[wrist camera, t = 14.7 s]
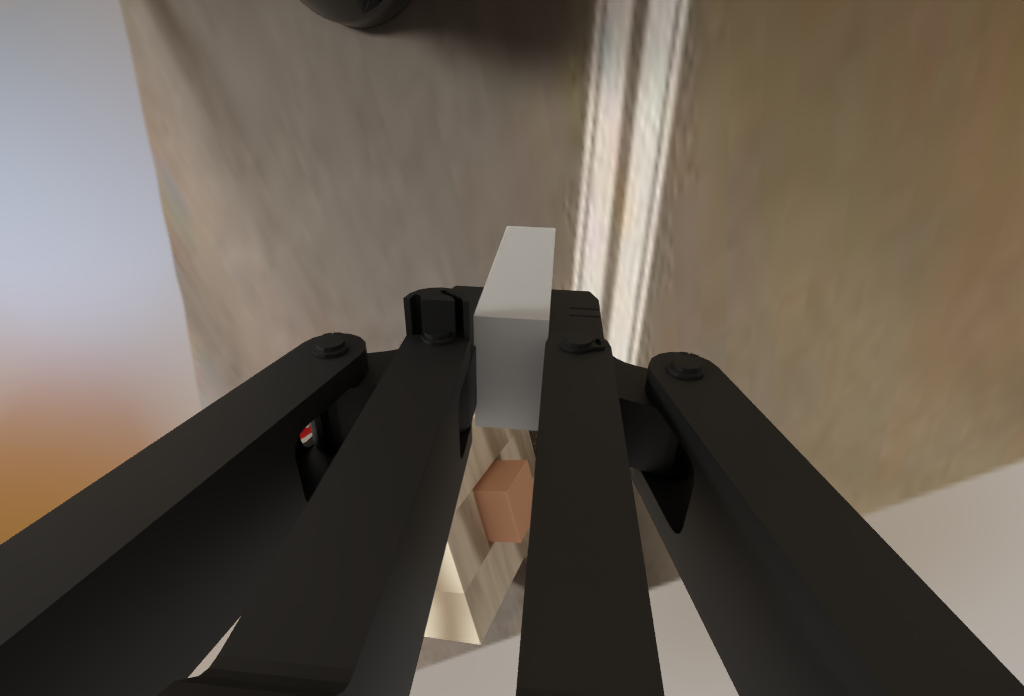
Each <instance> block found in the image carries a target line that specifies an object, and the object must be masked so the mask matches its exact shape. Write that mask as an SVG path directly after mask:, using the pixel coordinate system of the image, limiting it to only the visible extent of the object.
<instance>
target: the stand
mask: <svg viewBox="0 0 1024 696" xmlns="http://www.w3.org/2000/svg"><path fill="white" fill-rule="evenodd" d="M494 460H528V464H529V468H530V472H531V476H532V480H533V483H534V472H535V460H536V458H535V454H534V450H533V446H532V442H531V438H530V434H529V430H517V429H504V428H490V427H477V426H475V412H474V416H473V420H472V444H471V448H470V452H469V456H468V460H467V464H466V468H465V472H464V476H463V480H462V484H461V488H460V492H459V496H458V500H457V504H456V509H455V513H454V517H453V521H452V525H451V529H450V533H449V537H448V541H447V545H446V549H445V553H444V557H443V561H442V565H441V569H440V573H439V577H438V581H437V585H436V589H435V593H434V597H433V601H432V605H431V609H430V614H429V618H428V622H427V626H426V630H425V634H424V636H425V637H432V638H439V639H445V640H452V641H459V642H466V643H473V644H479V645H481V643H482V641H483V639H484V637H485V635H486V633H487V631H488V629H489V627H490V625H491V623H492V621H493V619H494V617H495V615H496V613H497V611H498V609H499V607H500V605H501V603H502V601H503V599H504V597H505V595H506V593H507V591H508V589H509V587H510V585H511V583H512V581H513V579H514V577H515V575H516V573H517V571H518V569H519V567H520V565H521V563H522V561H523V559H524V557H525V555H526V553H527V551H528V544H529V532H530V526H529V528H528V530H527V532H526V534H525V536H524V538H523V540H522V542H521V543H513V542H493V541H487V538H486V534H485V531H484V528H483V524H482V521H481V518H480V514H479V511H478V507H477V504H476V501H475V497H474V494H473V491H472V489H473V488H474V487H475V485H476V484H477V483H478V481H479V480H480V479H481V477H482V476H483V475H484V473H485V472H486V471H487V469H488V468H489V467H490V465H491V464H492V463H493V461H494Z"/></svg>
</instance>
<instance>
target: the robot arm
mask: <svg viewBox="0 0 1024 696" xmlns="http://www.w3.org/2000/svg"><path fill="white" fill-rule="evenodd" d="M300 1H301V2H302V3H303V4H304V5H305V6H307V7H308V8H309V9H310V10H312V11H313V12H315V13H316V14H318V15H320V16H321V17H323V18H325V19H328V20H330V21H333V22H336V23H339V24H342V25H345V26H348V27H353V28H368V27H373V26H377V25H380V24H382V23H384V22H386V21H388V20H390V19H391V18H393V17H394V16H395V15H397V14H398V13H399V12H400V11H401V10H402V9H403V8H404V7H405V6H406V5H407V4H408V3H409V1H410V0H300ZM554 243H555V228H540V227H518V226H507V227H506V230H505V233H504V235H503V238H502V241H501V243H500V246H499V249H498V252H497V254H496V257H495V260H494V262H493V265H492V268H491V270H490V273H489V276H488V278H487V281H486V284H485V286H484V287H470V286H455V287H453V288H452V289H450V288H427V289H421V290H417V291H415V292H412V293H409V294H408V295H407V296H406V297H404V298H403V299H404V310H405V321H406V333H407V336H406V337H405V339H404V341H403V342H402V344H401V346H400V347H399V349H397V350H391V351H385V352H375V353H367V350H366V343H365V341H364V340H363V339H362V338H361V337H358V336H355V335H352V334H344V333H340V332H339V333H333V334H332V333H327V334H324V335H322V336H318V337H314V338H312V339H310V340H308V341H306V342H304V343H302V344H301V345H299V346H298V347H296V348H295V349H293V350H292V351H290V352H289V353H287V354H286V355H284V356H283V357H281V358H280V359H278V360H277V361H275V362H274V363H272V364H271V365H269V366H268V367H266V368H265V369H263V370H262V371H260V372H259V373H257V374H256V375H254V376H253V377H251V378H250V379H248V380H247V381H245V382H244V383H242V384H241V385H239V386H238V387H236V388H235V389H233V390H232V391H230V392H229V393H227V394H226V395H224V396H223V397H221V398H220V399H218V400H217V401H215V402H214V403H212V404H211V405H209V406H208V407H206V408H205V409H203V410H202V411H200V412H199V413H197V414H196V415H194V416H193V417H191V418H190V419H188V420H187V421H186V422H184V423H182V424H181V425H179V426H178V427H176V428H175V429H173V430H172V431H170V432H169V433H167V434H166V435H165V436H163V437H161V438H160V439H158V440H157V441H155V442H154V443H153V444H151V445H149V446H148V447H146V448H145V449H143V450H142V451H140V452H139V453H137V454H136V455H134V456H133V457H131V458H130V459H128V460H127V461H125V462H124V463H122V464H121V465H119V466H118V467H116V468H115V469H113V470H112V471H111V472H109V473H108V474H106V475H105V476H103V477H101V478H100V479H98V480H97V481H96V482H94V483H92V484H91V485H89V486H88V487H87V488H85V489H84V490H82V491H80V492H79V493H77V494H76V495H74V496H73V497H71V498H70V499H69V500H67V501H66V502H64V503H63V504H61V505H60V506H58V507H57V508H55V509H54V510H52V511H51V512H49V513H48V514H46V515H45V516H43V517H42V518H40V519H39V520H37V521H36V522H34V523H33V524H31V525H30V526H28V527H27V528H25V529H24V530H22V531H21V532H19V533H18V534H16V535H15V536H13V537H12V538H10V539H9V540H7V541H6V542H4V543H3V544H1V545H0V696H409V694H410V690H411V686H412V682H413V678H414V674H415V670H416V666H417V662H418V658H419V654H420V650H421V646H422V642H423V638H424V634H425V630H426V626H427V622H428V618H429V614H430V609H431V605H432V601H433V597H434V593H435V589H436V585H437V581H438V577H439V573H440V569H441V565H442V561H443V557H444V553H445V549H446V545H447V541H448V537H449V533H450V529H451V525H452V521H453V517H454V513H455V509H456V504H457V500H458V496H459V492H460V488H461V484H462V480H463V476H464V472H465V468H466V464H467V460H468V456H469V452H470V448H471V444H472V420H473V416H474V412H475V426H477V427H490V428H504V429H517V430H531V431H538V436H537V448H536V460H535V472H534V484H533V496H532V508H531V520H530V532H529V544H528V557H527V569H526V581H525V593H524V605H523V617H522V629H521V641H520V653H519V665H518V677H517V690H516V696H664V690H663V683H662V677H661V670H660V663H659V658H658V651H657V644H656V637H655V631H654V625H653V618H652V611H651V605H650V598H649V592H648V585H647V578H646V572H645V565H644V559H643V552H642V546H641V539H640V533H639V526H638V520H637V513H636V507H635V500H634V494H633V487H632V480H633V482H634V484H635V486H636V488H637V490H638V492H639V494H640V496H641V498H642V500H643V502H644V504H645V506H646V508H647V510H648V512H649V514H650V516H651V518H652V520H653V522H654V524H655V526H656V528H657V530H658V532H659V534H660V536H661V538H662V540H663V542H664V544H665V546H666V548H667V550H668V553H669V555H670V557H671V559H672V561H673V563H674V565H675V567H676V569H677V571H678V573H679V575H680V577H681V579H682V581H683V583H684V585H685V587H686V589H687V591H688V593H689V595H690V597H691V599H692V601H693V603H694V605H695V607H696V609H697V611H698V613H699V615H700V617H701V619H702V621H703V623H704V625H705V627H706V629H707V631H708V633H709V636H710V637H711V640H712V641H713V644H714V646H715V647H716V650H717V652H718V654H719V656H720V658H721V659H722V662H723V664H724V666H725V668H726V670H727V672H728V674H729V676H730V678H731V680H732V682H733V684H734V686H735V688H736V690H737V692H738V694H739V696H1024V686H1023V685H1022V684H1021V683H1020V682H1019V680H1018V679H1017V678H1016V677H1015V676H1014V675H1013V674H1012V673H1011V672H1010V671H1009V670H1008V669H1007V668H1006V667H1005V666H1004V665H1003V664H1002V663H1001V662H1000V661H999V660H998V659H997V657H996V656H995V655H994V654H993V653H992V652H991V651H990V650H989V649H988V648H987V647H986V646H985V645H984V644H983V643H982V642H981V641H980V640H979V639H978V638H977V637H976V636H975V635H974V634H973V632H971V631H970V629H968V627H967V626H966V625H965V624H964V623H963V622H962V621H961V620H960V619H959V618H958V617H957V616H956V615H955V614H954V613H953V612H952V611H951V610H950V609H949V608H948V606H947V605H946V604H945V603H944V602H943V601H942V600H941V599H940V598H939V597H938V596H937V595H936V594H935V593H934V592H933V591H932V590H931V589H930V588H929V587H928V586H927V584H925V582H924V581H923V580H922V579H921V578H920V577H919V576H918V575H917V574H916V573H915V572H914V571H913V570H912V569H911V568H910V567H909V566H908V565H907V564H906V563H905V562H904V561H903V559H902V558H901V557H900V556H899V555H898V554H897V553H896V552H895V551H894V550H893V549H892V548H891V547H890V546H889V545H888V544H887V543H886V542H885V541H884V540H883V539H882V538H881V537H880V535H879V534H877V532H876V531H875V530H874V529H873V528H872V527H871V526H870V525H869V524H868V523H867V522H866V521H865V520H864V519H863V518H862V517H861V516H860V515H859V514H858V513H857V511H856V510H855V509H854V508H853V507H852V506H851V505H850V504H849V503H848V502H847V501H846V500H845V499H844V498H843V497H842V496H841V495H840V494H839V493H838V492H837V491H836V490H835V489H834V488H833V486H832V485H831V484H830V483H829V482H828V481H827V480H826V479H825V478H824V477H823V476H822V475H821V474H820V473H819V472H818V471H817V470H816V469H815V468H814V467H813V466H812V465H811V464H810V462H809V461H808V460H807V459H806V458H805V457H804V456H803V455H802V454H801V453H800V452H799V451H798V450H797V449H796V448H795V447H794V446H793V445H792V444H791V443H790V442H789V441H788V440H787V438H786V437H785V436H784V435H783V434H782V433H781V432H780V431H779V430H778V429H777V428H776V427H775V426H774V425H773V424H772V423H771V422H770V421H769V420H768V419H767V418H766V417H765V416H764V414H763V413H762V412H761V411H760V410H759V409H758V408H757V407H756V406H755V405H754V404H753V403H752V402H751V401H750V400H749V399H748V398H747V397H746V396H745V395H744V394H743V393H742V392H741V391H740V389H739V388H738V387H737V386H736V385H735V384H734V383H733V382H732V381H731V380H730V379H729V378H728V377H727V376H726V375H725V374H724V373H723V372H722V371H721V370H720V369H719V368H718V367H717V366H716V365H714V364H713V363H712V362H710V361H709V360H706V359H704V358H702V357H699V356H698V355H695V354H692V353H690V354H688V353H687V352H668V353H662V354H658V355H657V356H655V357H653V358H652V359H651V361H650V363H649V366H648V369H647V368H643V367H639V366H635V365H631V364H628V363H625V362H623V361H621V360H619V359H617V358H615V357H614V356H612V350H611V346H610V344H609V343H608V341H607V340H605V339H604V336H603V329H602V322H601V314H600V307H599V300H598V299H597V298H596V297H595V296H594V295H593V294H592V293H590V292H589V291H570V290H552V276H553V260H554ZM309 424H310V426H311V430H312V435H313V436H312V437H311V438H310V439H309V440H308V441H307V442H305V443H303V444H302V442H301V439H300V434H301V432H302V431H303V430H304V429H305V427H306V426H308V425H309ZM630 467H631V470H630ZM630 471H631V474H630ZM631 476H632V480H631ZM240 616H241V617H240ZM239 618H240V619H239ZM238 619H239V621H238V622H237V624H236V626H235V627H234V629H233V631H232V632H231V634H230V636H229V638H228V639H227V641H226V643H225V644H224V646H223V648H222V649H221V651H220V653H219V654H218V656H217V657H216V659H215V660H214V662H213V663H212V664H211V666H210V667H209V668H208V669H207V670H206V671H204V672H203V673H202V674H201V675H200V676H197V677H192V678H188V677H189V675H190V674H191V673H192V672H193V671H194V670H195V669H196V667H197V666H198V665H199V664H200V663H201V662H202V660H203V659H204V658H205V657H206V656H207V655H208V653H209V652H210V651H211V650H212V649H213V648H214V646H215V645H216V644H217V643H218V642H219V641H220V640H221V638H222V637H223V636H224V635H225V634H226V633H227V631H228V630H229V629H230V628H231V627H232V626H233V624H234V623H235V622H236V621H237V620H238Z"/></svg>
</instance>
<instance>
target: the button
mask: <svg viewBox="0 0 1024 696" xmlns="http://www.w3.org/2000/svg"><path fill="white" fill-rule="evenodd" d="M533 484H534V483H533V480H532V476H531V472H530V468H529V464H528V460H494V461H493V463H492V464H491V465H490V467H489V468H488V469H487V471H486V472H485V473H484V475H483V476H482V477H481V479H480V480H479V481H478V483H477V484H476V485H475V487H474V488H473V489H472V491H473V494H474V497H475V501H476V504H477V507H478V511H479V514H480V518H481V521H482V524H483V528H484V531H485V534H486V538H487V541H493V542H513V543H521V542H522V540H523V538H524V536H525V534H526V532H527V530H528V528H529V526H530V520H531V508H532V496H533Z"/></svg>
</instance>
